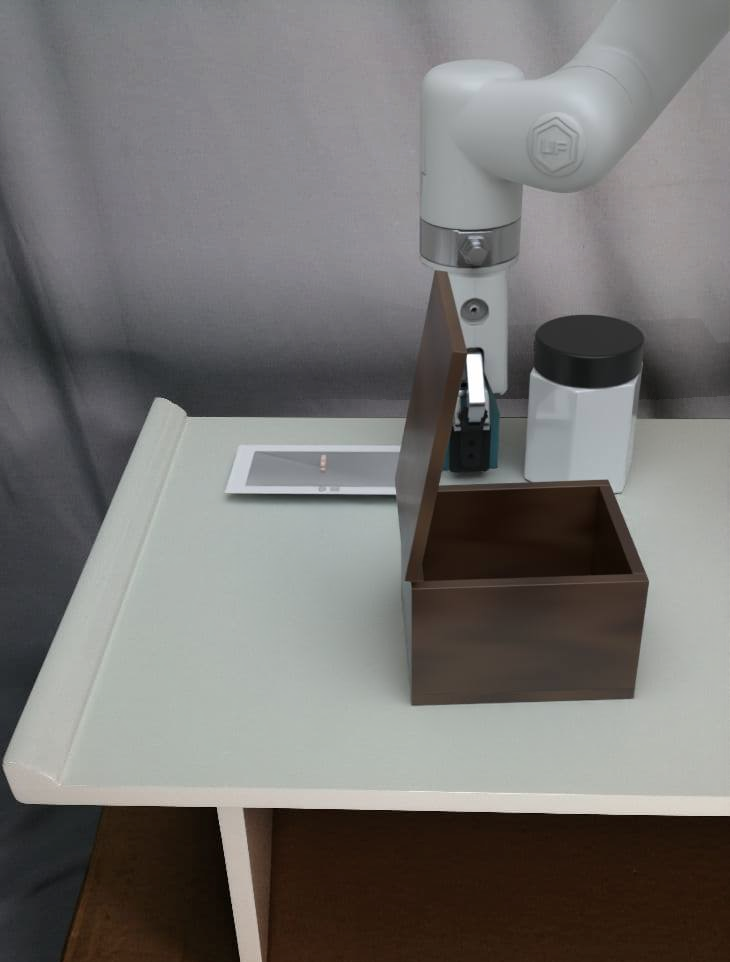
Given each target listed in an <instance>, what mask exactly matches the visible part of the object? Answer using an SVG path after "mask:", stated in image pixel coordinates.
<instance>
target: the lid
mask: <svg viewBox="0 0 730 962" xmlns="http://www.w3.org/2000/svg"><path fill="white" fill-rule="evenodd" d="M426 308H427V309H426V314H425V319H424V323H423V324H424V325H423V329H422V335H421V340H420V345H419V350H418V356H417V361H416V366H415V371H414V375H413V380H412V381H413V382H412V387H411V392H410V397H409V402H408V407H407V412H406V418H405V424H404V428H403V433H402V439H401V442H400V443H401V444H400V446H401V449H400V454H399V459H398V464H397V469H396V475H395V488H396V495H395V496H396V497H395V498H396V507H397V518H398V527H399V528H398V529H399V538H400V550H401V549H402V559H403V569H404V579H405V581H407V582H416V583H417V582H418V580H419V576H420V571H421V566H422V562H423V557H424V553H425V548H426V543H427V539H428V534H429V530H430V525H431V520H432V516H433V511H434V506H435V502H436V497H437V493H438V488H439V485H440V483H441V479H442V475H443V470H442V469H443V465H444V460H445V456H446V451H447V446H448V442H449V437H450V433H451V428H452V423H453V419H454V414H455V409H456V405H457V400H458V396H459V391H460V386H461V382H462V377H463V373H464V368H465V363H466V359H467V354H468V353H467V349H466V345H465V341H464V337H463V333H462V329H461V324H460V320H459V316H458V312H457V308H456V304H455V300H454V296H453V292H452V288H451V284H450V280H449V276H448V272H447V271H439V270H434V272H433V278H432V282H431V288H430V293H429V298H428V304H427V307H426Z"/></svg>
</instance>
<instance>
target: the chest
mask: <svg viewBox="0 0 730 962" xmlns="http://www.w3.org/2000/svg"><path fill="white" fill-rule="evenodd" d="M649 579H650V578H649V577H648V575H647V572H646V570H645V567H644V564H643V562H642V560H641V557H640V555H639V553H638V549H637V547H636V545H635V542H634V539H633V537H632V535H631V532H630V530H629V527H628V525H627V522H626V520H625V517H624V515H623V511H622V510H621V507H620V504H619V502H618V499H617V497H616V495H615V493H614V492H613V490H612V487H611V485H610V482H609V480H608V479H604V480H576V481H548V482H531V481H524V482H498V483H497V482H496V483H495V482H494V483H493V482H492V483H467V484H466V483H465V484H442V485H441V484H439V488H438V493H437V497H436V502H435V506H434V511H433V516H432V520H431V525H430V530H429V534H428V539H427V543H426V548H425V553H424V557H423V562H422V566H421V571H420V576H419V580H418V582H417V583H416V582H407V581H405V579H404V569H403V559H402V549H401V548H400V596H401V607H402V618H403V629H404V639H405V651H406V663H407V671H408V682H409V692H410V694H409V695H410V703H411V706H429V705H431V706H432V705H457V704H458V705H461V704H489V703H490V704H491V703H493V704H494V703H519V702H520V703H521V702H522V703H523V702H555V701H556V702H557V701H583V700H584V701H585V700H587V701H588V700H590V701H591V700H618V699H620V700H621V699H622V700H623V699H634V697H635V691H636V684H637V675H638V668H639V661H640V654H641V646H642V639H643V632H644V625H645V624H644V623H645V616H646V609H647V603H648V602H647V601H648V593H649V586H650V580H649Z"/></svg>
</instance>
